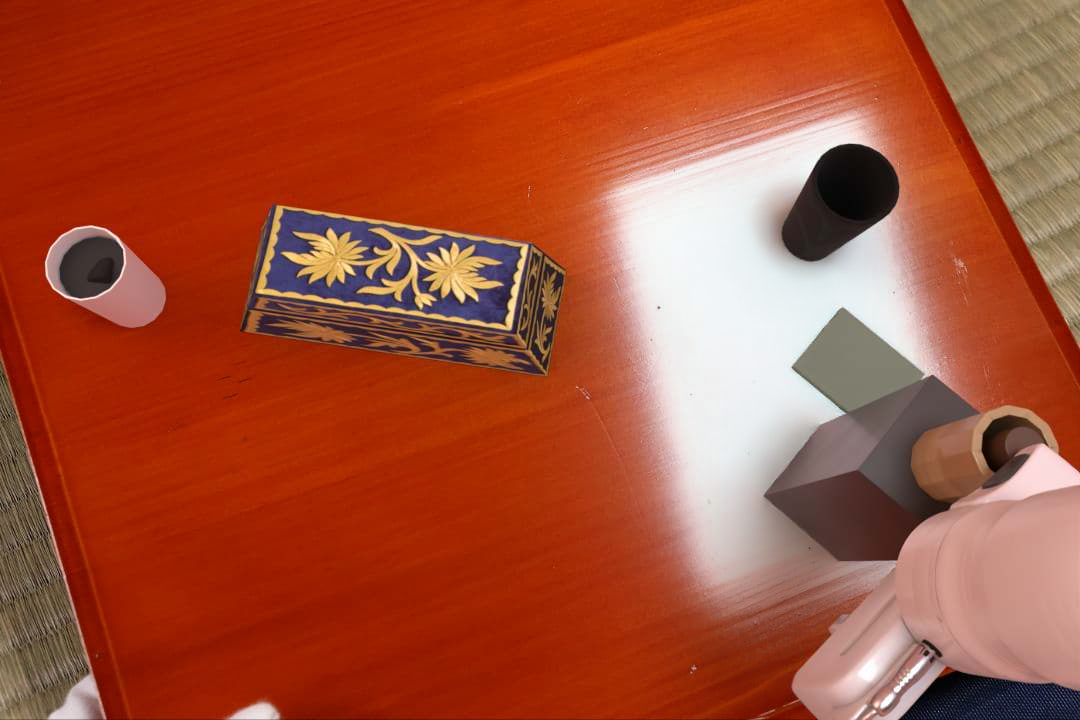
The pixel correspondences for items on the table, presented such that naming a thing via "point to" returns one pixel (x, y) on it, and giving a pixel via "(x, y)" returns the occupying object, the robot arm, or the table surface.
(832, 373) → the felt coaster
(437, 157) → the table surface
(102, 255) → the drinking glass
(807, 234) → the cup
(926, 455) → the orange hollow cylinder
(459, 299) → the decorative box
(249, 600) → the table surface
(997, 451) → the peg stand
